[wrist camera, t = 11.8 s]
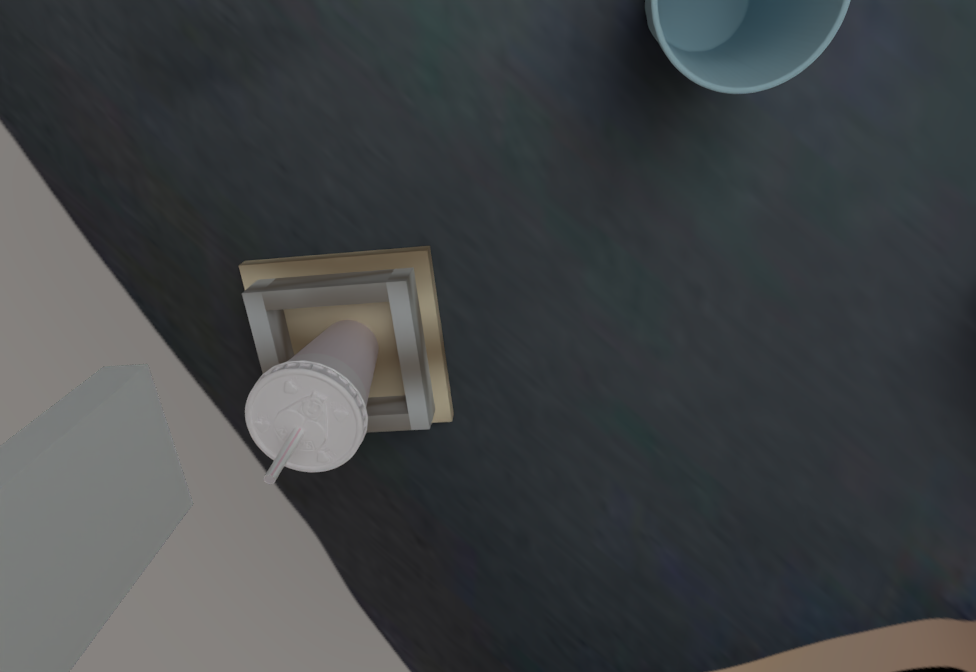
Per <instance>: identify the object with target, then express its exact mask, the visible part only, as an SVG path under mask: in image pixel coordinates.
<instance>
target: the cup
mask: <svg viewBox="0 0 976 672" xmlns="http://www.w3.org/2000/svg"><path fill="white" fill-rule="evenodd" d="M849 3H850V0H645V12H646V16H647V23H648V27H649V30H650V32H651V33H652V35H653V36H654V38H655V39H656V40H657V42H658V43H659V45H660V47H661V48H662V50H663V52H664V53H665V55H666V56H667V58H668V59H669V61H670V62H671V63H672V64H673V65H674V67H675V68H676V69H677V70H678V71H679V72H681V73H682V74H683V75H684V76H685V77H687V78H688V79H689V80H691V81H692V82H694V83H696V84H698V85H700V86H702V87H704V88H707V89H709V90H713V91H717V92H721V93H728V94H747V93H754V92H759V91H763V90H766V89H770V88H773V87H775V86H778V85H780V84H782V83H784V82H786V81H788V80H790V79H791V78H793V77H794V76H796V75H798V74H799V73H800V72H802V71H803V70H804V69H806V68H807V67H808V66H809V65H810V64H811V63H813V62H814V61H815V60H816V59H817V58H818V57H819V55H820V54H821V53H822V52H823V51H824V50H825V49H826V47H827V46H828V45H829V43H830V42H831V40H832V39H833V37H834V36H835V34H836V33H837V31H838V29H839V27H840V26H841V24H842V21H843V19H844V17H845V15H846V12H847V10H848V7H849Z"/></svg>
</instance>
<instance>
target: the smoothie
mask: <svg viewBox="0 0 976 672" xmlns="http://www.w3.org/2000/svg"><path fill="white" fill-rule="evenodd" d="M378 351H379V347H378V342H377V339H376V337H375V335H374V333H373V332H372V331H371V330H370V329H369V328H368V327H367V326H365V325H364V324H362V323H360V322H357V321H353V320H341V321H338V322H336V323H334V324H332V325H331V326H330V327H328V328H327V329H326V330H325V331H323V332H322V333H321V334H320V335H319V336H317V337H316V338H315V339H314V340H313V341H311V342H310V343H309V344H308V345H307V346H305V347H304V348H303V349H302V350H300V351H299V352H298V353H297V354H296V355H294V356H293V357H292V358H291V359H290V360H288V361H287V362H284V363H281V364H278V365H275V366H273V367H272V368H270V369H269V370H268V371H266V372H265V373H263V374H262V375H261V377H260V378H259V380H258V381H257V382H256V384H255V385H254V387H253V389H252V390H251V392H250V393H249V396H248V398H247V401H246V406H245V419H246V424H247V428H248V430H249V433H250V435H251V437H252V438H253V440H254V442H255V443H256V444H257V446H258V447H259V448H260V449H261V450H262V451H263V452H264V453H265V454H266V455H267V456H268V457H270V458H271V459H272V460H274V462H273V463H272V465H271V466H270V468H269V469H268V471H267V473H266V474H265V476H264V478H263V479H264V482H266V483H267V484H273V483H274V482H275V481H276V479H277V477H278V476H279V474H280V472H281V471H282V469H283V467H284V466H285V467H288V468H290V469H294V470H297V471H303V472H323V471H328V470H331V469H334V468H337V467H339V466H341V465H342V464H344V463H345V462H347V461H348V460H349V459H350V458H351V457H352V456H353V455H354V454H355V452H356V451H357V449H358V448H359V446H360V444H361V443H362V441H363V439H364V436H365V434H366V432H367V425H368V414H367V409H366V406H367V401H368V397H369V392H370V388H371V383H372V379H373V374H374V370H375V365H376V361H377V356H378Z"/></svg>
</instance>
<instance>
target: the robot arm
mask: <svg viewBox="0 0 976 672" xmlns="http://www.w3.org/2000/svg"><path fill="white" fill-rule="evenodd" d="M192 505H193V501H192V498H191V495H190V492H189V489H188V485H187V482H186V479H185V476H184V473H183V470H182V467H181V464H180V461H179V458H178V455H177V452H176V449H175V446H174V443H173V439H172V437H171V434H170V430H169V427H168V424H167V421H166V418H165V415H164V412H163V409H162V406H161V403H160V400H159V396H158V393H157V390H156V387H155V384H154V381H153V378H152V375H151V372H150V369H149V366H148V364H139V365H122V366H107V367H102V368H101V369H100V370H98V371H97V372H96V373H95V374H93V375H92V376H91V377H89V378H88V379H87V380H85V381H84V382H83V383H82V384H80V385H79V386H78V387H76V388H75V389H74V390H72V391H71V392H70V393H68V394H67V395H66V396H65V397H63V398H62V399H61V400H59V401H58V402H57V403H56V404H54V405H53V406H51V407H50V408H49V409H48V410H46V411H45V412H44V413H42V414H41V415H40V416H38V417H37V418H36V419H35V420H33V421H32V422H31V423H29V424H28V425H27V426H25V427H24V428H23V429H21V430H20V431H19V432H18V433H16V434H15V435H14V436H12V437H11V438H10V439H8V440H7V441H6V442H5V443H3V444H2V445H1V446H0V672H70V670H71V669H72V668H73V666H74V665H75V664H76V662H77V661H78V660H79V658H80V657H81V656H82V654H83V653H84V651H85V650H86V649H87V647H88V646H89V645H90V643H91V642H92V641H93V639H94V638H95V636H96V635H97V633H98V632H99V631H100V630H101V628H102V627H103V626H104V624H105V623H106V622H107V620H108V619H109V618H110V616H111V615H112V614H113V612H114V611H115V609H116V608H117V607H118V605H119V604H120V603H121V601H122V599H123V598H124V597H125V596H126V595H127V593H128V592H129V590H130V589H131V588H132V586H133V585H134V584H135V582H136V581H137V579H138V578H139V577H140V575H141V574H142V573H143V571H144V570H145V568H146V567H147V566H148V565H149V563H150V562H151V561H152V559H153V558H154V557H155V555H156V554H157V552H158V551H159V550H160V548H161V547H162V546H163V544H164V543H165V542H166V540H167V539H168V538H169V536H170V535H171V534H172V532H173V531H174V529H175V528H176V526H177V525H178V524H179V523H180V521H181V520H182V519H183V517H184V516H185V515H186V513H187V512H188V510H189V509H190V508H191V506H192Z"/></svg>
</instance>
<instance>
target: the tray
mask: <svg viewBox="0 0 976 672" xmlns="http://www.w3.org/2000/svg"><path fill="white" fill-rule="evenodd" d="M239 269H240V273H241V277H242V281H243V285H244V289H245V291H244V292H243V293H242V296H243V300H244V303H245V307H246V311H247V315H248V319H249V323H250V327H251V330H252V334H253V338H254V342H255V346H256V350H257V353H258V357H259V361H260V365H261V369H262V373H265V372H266V371H268V370H269V369H270V368H272V367H273V366H275V365H278V364H281V363H284V362H287V361H288V360H290V359H291V358H292V357H293V356H294V355H296V354H297V353H298V352H299V351H300V350H302V349H303V348H304V347H305V346H307V345H308V344H309V343H310V342H311V341H313V340H314V339H315V338H316V337H317V336H319V335H320V334H321V333H322V332H323V331H325V330H326V329H327V328H328V327H330V326H331V325H332V324H334V323H336V322H338V321H341V320H353V321H357V322H360V323H362V324H364V325H365V326H367V327H368V328H369V329H370V330H371V331H372V332H373V333H374V335H375V337H376V339H377V342H378V347H379V351H378V356H377V361H376V365H375V370H374V374H373V379H372V383H371V388H370V392H369V397H368V401H367V406H366V409H367V414H368V425H367V432H384V431H403V430H422V429H430V427H431V423H436V422H452V419H453V415H454V413H453V406H452V399H451V392H450V385H449V378H448V370H447V363H446V356H445V349H444V342H443V335H442V328H441V321H440V314H439V307H438V300H437V293H436V286H435V279H434V272H433V265H432V258H431V251H430V246H421V247H409V248H396V249H384V250H372V251H360V252H348V253H335V254H323V255H311V256H299V257H286V258H274V259H262V260H250V261H244V262H243V263H242V264H240V265H239Z"/></svg>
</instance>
